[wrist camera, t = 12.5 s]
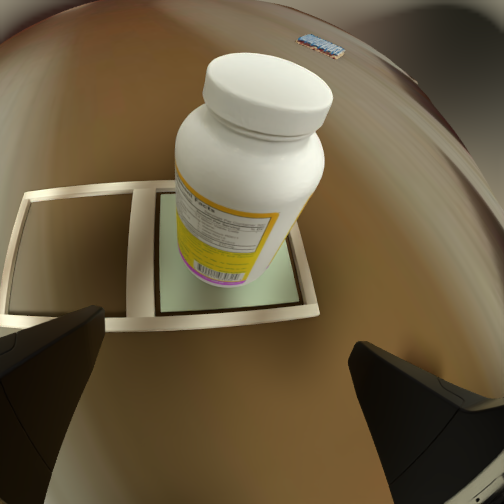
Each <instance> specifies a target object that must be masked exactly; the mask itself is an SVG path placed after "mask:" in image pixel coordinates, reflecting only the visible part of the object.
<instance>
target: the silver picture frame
mask: <svg viewBox="0 0 504 504" xmlns="http://www.w3.org/2000/svg"><path fill="white" fill-rule="evenodd" d="M156 192H176V191H175V180H158V181H135V182H118V183H104V184H92V185H81V186H71V187H62V188H54V189H46V190H38V191H31V192H25V194H24V197H23V199H22V202H21V205H20V208H19V211H18V215H17V218H16V221H15V224H14V228H13V231H12V235H11V239H10V243H9V247H8V251H7V256H6V260H5V265H4V270H3V276H2V281H1V288H0V327H10V328H21V329H26V328H29V327H32V326H35V325H38V324H41V323H43V322H46V321H49V320H52V319H55V318H57V317H37V316H19V315H8V309H9V300H10V292H11V285H12V278H13V272H14V267H15V262H16V257H17V252H18V248H19V243H20V239H21V235H22V231H23V228H24V224H25V221H26V217H27V214H28V211H29V207H30V204H31V202H37V201H45V200H54V199H64V198H74V197H85V196H98V195H112V194H128V193H133V199H132V207H131V217H130V227H129V240H128V256H127V282H126V318H105V332H146V331H173V330H191V329H206V328H219V327H231V326H242V325H252V324H261V323H270V322H278V321H286V320H294V319H301V318H308V317H315V316H318V315H320V312H319V307H318V303H317V299H316V294H315V290H314V286H313V282H312V278H311V274H310V270H309V266H308V262H307V258H306V254H305V250H304V246H303V242H302V238H301V235H300V231H299V227H298V224H297V220H296V222H295V224H294V225H293V227H292V229H291V230H290V232H289V234H288V237H289V241H290V245H291V250H292V254H293V258H294V262H295V267H296V271H297V275H298V280H299V284H300V289H301V293H302V298H303V302H304V305H300V306H291V307H282V308H273V309H263V310H253V311H242V312H230V313H216V314H202V315H185V316H163V317H155V298H154V229H155V206H156ZM159 267H160V303H161V312H182V311H200V310H215V309H229V308H241V307H253V306H264V305H274V304H284V303H293V302H299V298H298V293H297V289H296V284H295V280H294V275H293V271H292V266H291V262H290V257H289V253H288V249H287V245H286V240H284V242H283V244H282V245H281V247H280V249H279V250H278V252H277V254H276V255H275V257H274V259H273V260H272V262H271V263H270V265H269V266H268V268H267V269H266V271H265V272H264V273H263V274H262V275H261V276H260V277H259V278H257V279H256V280H254V281H253V282H251V283H249V284H246V285H243V286H239V287H233V288H223V287H217V286H213V285H210V284H208V283H205V282H203V281H202V280H200V279H198V278H197V277H196V276H194V275H193V274H192V273H191V272H190V271H189V270H188V268H187V267H186V266H185V264H184V262H183V261H182V259H181V256H180V253H179V249H178V241H177V223H176V194H161V203H160V239H159Z"/></svg>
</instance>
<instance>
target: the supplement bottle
mask: <svg viewBox="0 0 504 504" xmlns="http://www.w3.org/2000/svg"><path fill="white" fill-rule="evenodd" d="M203 98H204V101H205V104H203V105H201V106H200V107H198V108H197V109H195V110H194V111H193V112H191V113H190V114H189V115H188V117H187V118H186V119H185V120H184V122H183V123H182V125H181V127H180V129H179V131H178V134H177V138H176V143H175V191H176V223H177V241H178V249H179V253H180V256H181V259H182V261H183V262H184V264H185V266H186V267H187V268H188V270H189V271H190V272H191V273H192V274H193V275H194V276H196V277H197V278H198V279H200V280H202V281H203V282H205V283H208V284H210V285H213V286H217V287H223V288H233V287H239V286H243V285H246V284H249V283H251V282H253V281H254V280H256V279H257V278H259V277H260V276H261V275H262V274H263V273H264V272H265V271H266V269H267V268H268V266H269V265H270V263H271V262H272V260H273V259H274V257H275V255H276V254H277V252H278V250H279V249H280V247H281V245H282V244H283V242H284V240H285V239H286V237H287V235H288V234H289V232H290V230H291V229H292V227H293V225H294V224H295V222H296V220H297V219H298V217H299V215H300V214H301V212H302V210H303V209H304V207H305V205H306V204H307V202H308V200H309V199H310V197H311V196H312V194H313V192H314V191H315V189H316V187H317V185H318V183H319V181H320V179H321V177H322V174H323V169H324V152H323V148H322V145H321V142H320V140H319V138H318V136H317V134H316V133H315V131H316V130H317V129H319V128H320V127H321V126H322V124H323V122H324V120H325V118H326V115H327V113H328V111H329V108H330V106H331V104H332V100H333V95H332V92H331V90H330V88H329V87H328V85H327V84H326V83H325V82H324V81H323V80H322V79H321V78H319V77H318V76H317V75H316V74H314V73H312V72H311V71H309V70H307V69H305V68H303V67H301V66H299V65H297V64H295V63H292V62H290V61H287V60H284V59H281V58H278V57H274V56H269V55H263V54H256V53H234V54H228V55H224V56H221V57H218V58H216V59H214V60H213V61H212V62H211V63H210V64H209V66H208V68H207V72H206V79H205V85H204V89H203Z"/></svg>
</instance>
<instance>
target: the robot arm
mask: <svg viewBox="0 0 504 504" xmlns="http://www.w3.org/2000/svg"><path fill="white" fill-rule="evenodd" d="M104 335H105V311H104V309H103V308H102V307H99V306H95V305H91V306H89V307H86V308H83V309H80V310H77V311H74V312H72V313H69V314H66V315H63V316H60V317H57V318H55V319H52V320H49V321H46V322H43V323H41V324H38V325H35V326H32V327H29V328H26V329H24V330H21V331H18V332H17V333H12V334H9V335H7V336H4V337H1V338H0V504H44V500H45V497H46V493H47V489H48V486H49V482H50V479H51V476H52V472H53V469H54V466H55V463H56V460H57V457H58V454H59V451H60V448H61V445H62V442H63V440H64V437H65V434H66V432H67V429H68V427H69V424H70V421H71V419H72V416H73V414H74V412H75V409H76V407H77V404H78V402H79V400H80V397H81V395H82V393H83V390H84V388H85V386H86V384H87V381H88V379H89V377H90V375H91V373H92V370H93V367H94V365H95V361H96V358H97V355H98V352H99V349H100V347H101V344H102V341H103V338H104ZM348 366H349V370H350V373H351V377H352V380H353V384H354V388H355V392H356V395H357V398H358V401H359V403H360V406H361V409H362V411H363V414H364V417H365V419H366V422H367V425H368V427H369V430H370V433H371V436H372V438H373V441H374V444H375V447H376V450H377V452H378V455H379V458H380V461H381V464H382V467H383V470H384V473H385V476H386V479H387V482H388V485H389V488H390V492H391V495H392V498H393V501H394V504H504V397H503V398H499V399H490V398H486V397H483V396H481V395H478V394H476V393H473V392H471V391H468V390H466V389H463V388H461V387H458V386H456V385H454V384H452V383H449V382H447V381H445V380H443V379H441V378H439V377H436V376H435V375H433V374H431V373H429V372H427V371H425V370H423V369H421V368H419V367H416V366H414V365H412V364H410V363H408V362H406V361H404V360H402V359H401V358H399V357H397V356H395V355H393V354H391V353H389V352H387V351H385V350H383V349H381V348H379V347H377V346H375V345H373V344H371V343H369V342H367V341H358V342H356V344H355V345H354V348H353V350H352V352H351V354H350V357H349V359H348Z"/></svg>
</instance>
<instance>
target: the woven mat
mask: <svg viewBox="0 0 504 504" xmlns="http://www.w3.org/2000/svg"><path fill="white" fill-rule="evenodd" d="M296 43H299V44H301V45H304V46H306V47H309V48H311V49H313V50H316V51H318V52H320V53H322V54H325V55H327V56H329V57H331V58H333V59H338V58H340V57H341V56H342V55H343V54H344V52H345V50H344V49H341V48H342V47H338V46H336V45H335V44H332V43H330V42H329V41H328V42H327V41H326V40H325V41H324V39H321V38H318V37H315V36H314V35H313V36H312V34H311V35H307V36H306V35H305V36H303V37H300V38H299V39H298V40H296Z"/></svg>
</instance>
